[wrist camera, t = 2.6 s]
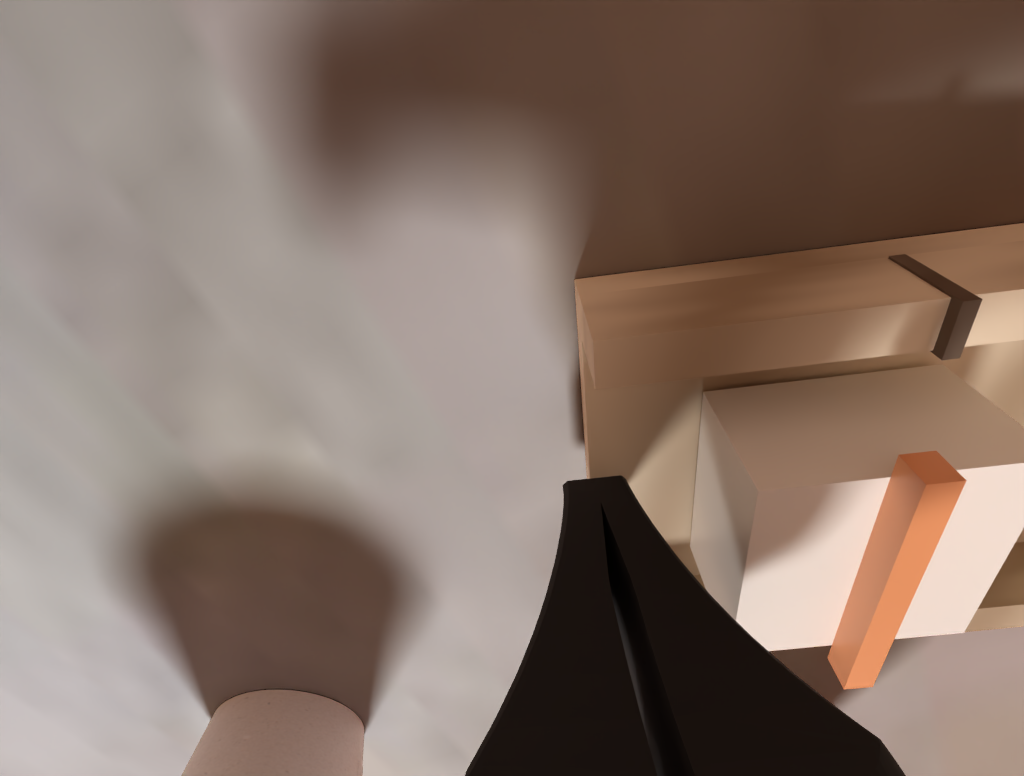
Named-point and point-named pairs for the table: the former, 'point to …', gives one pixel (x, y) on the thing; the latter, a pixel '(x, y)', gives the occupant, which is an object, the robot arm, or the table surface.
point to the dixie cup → (280, 737)
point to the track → (792, 352)
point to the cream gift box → (855, 509)
